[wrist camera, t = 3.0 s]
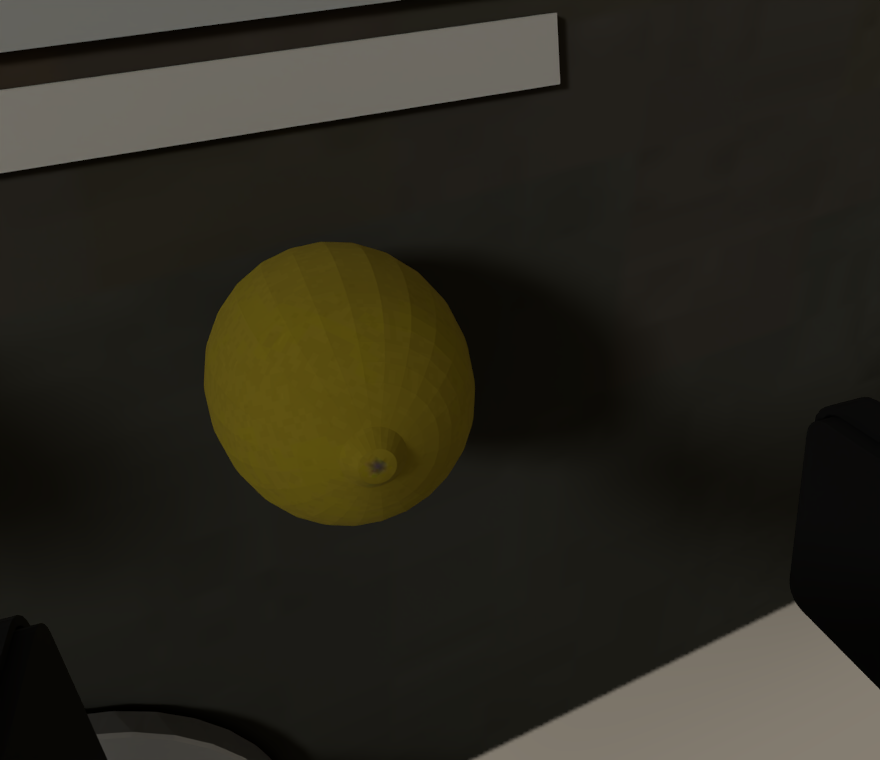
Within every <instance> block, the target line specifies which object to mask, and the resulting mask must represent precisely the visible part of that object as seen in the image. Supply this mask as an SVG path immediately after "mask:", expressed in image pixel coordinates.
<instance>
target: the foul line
mask: <svg viewBox="0 0 880 760" xmlns="http://www.w3.org/2000/svg"><path fill="white" fill-rule="evenodd" d="M558 84H560V68H559V46H558V25H557V13H548V14H541V15H534V16H527V17H520V18H512V19H505V20H498V21H491V22H484V23H477V24H469V25H462V26H455V27H448V28H441V29H434V30H426V31H419V32H412V33H405V34H398V35H391V36H383V37H376V38H369V39H362V40H355V41H348V42H340V43H333V44H326V45H319V46H312V47H305V48H297V49H290V50H283V51H276V52H269V53H262V54H254V55H247V56H240V57H233V58H226V59H219V60H211V61H204V62H197V63H190V64H183V65H176V66H168V67H161V68H154V69H147V70H140V71H133V72H125V73H118V74H111V75H104V76H97V77H90V78H82V79H75V80H68V81H61V82H54V83H47V84H39V85H32V86H25V87H18V88H11V89H4V90H0V173H5V172H11V171H18V170H24V169H30V168H37V167H43V166H49V165H55V164H62V163H68V162H74V161H81V160H87V159H93V158H99V157H106V156H112V155H118V154H124V153H131V152H137V151H143V150H150V149H156V148H162V147H168V146H175V145H181V144H187V143H193V142H200V141H206V140H212V139H219V138H225V137H231V136H237V135H244V134H250V133H256V132H263V131H269V130H275V129H281V128H288V127H294V126H300V125H306V124H313V123H319V122H325V121H332V120H338V119H344V118H350V117H357V116H363V115H369V114H375V113H382V112H388V111H394V110H401V109H407V108H413V107H419V106H426V105H432V104H438V103H445V102H451V101H457V100H463V99H470V98H476V97H482V96H488V95H495V94H501V93H507V92H514V91H520V90H526V89H532V88H539V87H545V86H551V85H558Z"/></svg>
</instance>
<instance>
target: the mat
mask: <svg viewBox="0 0 880 760" xmlns="http://www.w3.org/2000/svg"><path fill="white" fill-rule="evenodd" d="M392 1H399V0H0V53H1V52H9V51H17V50H24V49H32V48H39V47H47V46H55V45H62V44H70V43H78V42H85V41H93V40H101V39H108V38H116V37H124V36H131V35H139V34H147V33H154V32H162V31H170V30H177V29H185V28H193V27H200V26H208V25H215V24H223V23H231V22H238V21H246V20H254V19H261V18H269V17H277V16H284V15H292V14H300V13H307V12H315V11H323V10H330V9H338V8H346V7H353V6H361V5H369V4H376V3H384V2H392Z"/></svg>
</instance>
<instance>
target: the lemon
mask: <svg viewBox="0 0 880 760" xmlns="http://www.w3.org/2000/svg"><path fill="white" fill-rule="evenodd" d="M204 390H205V395H206V399H207V404H208V408H209V412H210V416H211V421H212V425H213V428H214V430H215V433H216V435H217V437H218V439H219V440H220V442H221V444H222V446H223V448H224V449H225V451H226V453H227V455H228V456H229V458H230V460H231V462H232V464H233V465H234V467H235V468H236V470H237V471H238V472H239V474H240V475H241V476H242V477H243V478H244V479H245V480H246V481H247V482H248V483H249V484H250V485H251V486H252V487H253V488H255V489H256V490H257V491H258V492H259V493H260V494H261V495H262V496H263V497H264V498H265V499H266V500H268V501H269V502H271V503H272V504H274V505H276V506H278V507H280V508H281V509H283V510H285V511H287V512H289V513H290V514H292V515H294V516H296V517H299V518H303V519H306V520H310V521H314V522H317V523H321V524H326V525H346V526H357V525H362V524H368V523H373V522H379V521H383V520H385V519H388V518H390V517H393V516H395V515H398V514H400V513H403V512H405V511H407V510H409V509H410V508H412V507H413V506H415V505H416V504H418V503H419V502H421V501H422V500H423V499H425V498H426V497H428V496H429V495H430V494H431V493H432V492H433V491H434V490H435V489H436V488H437V487H438V486H439V485H440V484H441V483H442V482H443V481H444V480H445V479H446V477H447V476H448V475H449V473H450V471H451V470H452V468H453V467H454V465H455V463H456V462H457V460H458V458H459V457H460V455H461V454H462V452H463V450H464V448H465V445H466V441H467V438H468V435H469V432H470V429H471V426H472V422H473V415H474V398H475V381H474V376H473V371H472V366H471V361H470V356H469V351H468V347H467V343H466V340H465V337H464V335H463V333H462V331H461V329H460V327H459V325H458V323H457V322H456V320H455V318H454V316H453V314H452V312H451V310H450V308H449V306H448V304H447V303H446V302H445V300H444V299H443V298H442V297H441V296H440V295H439V293H438V292H437V291H436V290H435V289H434V288H433V287H432V286H431V285H430V284H429V283H428V282H427V281H426V280H425V279H424V278H423V277H422V276H421V275H420V274H419V273H418V272H417V271H415V270H414V269H412V268H410V267H409V266H407V265H405V264H404V263H402V262H401V261H399V260H397V259H396V258H394V257H392V256H391V255H389V254H387V253H385V252H382V251H379V250H375V249H372V248H369V247H365V246H362V245H358V244H355V243H345V242H318V243H313V244H309V245H304V246H299V247H295V248H290V249H288V250H286V251H284V252H282V253H280V254H278V255H276V256H274V257H272V258H270V259H268V260H266V261H264V262H262V263H261V264H259V265H258V266H257V267H256V268H255V269H254V270H253V271H251V272H250V273H249V274H248V275H247V276H246V277H244V278H243V279H242V280H241V281H240V282H239V283H238V284H237V285H236V286H235V288H234V289H233V291H232V292H231V294H230V295H229V297H228V298H227V300H226V301H225V302H224V304H223V305H222V307H221V308H220V310H219V312H218V314H217V317H216V319H215V322H214V325H213V328H212V331H211V334H210V337H209V339H208V342H207V346H206V355H205V374H204Z"/></svg>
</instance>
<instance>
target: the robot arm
mask: <svg viewBox="0 0 880 760" xmlns="http://www.w3.org/2000/svg"><path fill="white" fill-rule="evenodd" d="M790 589H791V593H792V595H793V598H794V600H795V602H796V603H797V605H798V606H799V607H800V609H801V610H802V611H803V612H804V613H805V614H806V615H807V616H808V617H809V618H810V619H811V620H812V621H813V622H814V623H815V624H816V625H817V626H818V627H819V628H820V629H821V630H822V631H823V632H824V633H825V634H826V635H827V636H828V637H829V638H830V639H831V640H832V641H833V642H834V643H835V644H836V645H837V646H838V647H839V648H840V650H841V651H843V653H844V654H845V655H847V657H848V658H850V659H851V661H853V662H854V664H855V665H856V666H857V667H858V668H859V669H860V670H861V671H862V672H863V673H864V674H865V675H866V676H867V677H868V678H869V679H870V680H871V681H872V682H873V683H874V684H875V685H876V686H877V687H878V688H879V689H880V402H878V401H877V400H874V399H872V398H869V397H862V398H858V399H854V400H850V401H846V402H842V403H838V404H834V405H830V406H827V407H825V408H823V409H821V410H820V411H819V413H818V414H817V415H816V419H815V422H813V423H811V425H810V426H809V427H808V431H807V437H806V445H805V454H804V462H803V471H802V479H801V488H800V496H799V505H798V513H797V522H796V530H795V539H794V547H793V556H792V564H791V573H790ZM0 760H272V759H271V758H269V757H268V756H267V755H266V754H265V753H264V752H263V751H262V750H261V749H260V748H259V747H257V746H256V745H255V744H253V743H251V742H249V741H247V740H246V739H244V738H242V737H240V736H239V735H237V734H235V733H233V732H232V731H230V730H228V729H225V728H222V727H219V726H216V725H213V724H210V723H207V722H204V721H201V720H198V719H195V718H190V717H184V716H178V715H172V714H166V713H160V712H138V711H109V712H101V713H92V714H87V713H86V710H85V708H84V706H83V704H82V702H81V699H80V697H79V695H78V693H77V690H76V688H75V686H74V684H73V682H72V679H71V677H70V675H69V673H68V670H67V668H66V666H65V664H64V661H63V659H62V657H61V655H60V653H59V650H58V648H57V646H56V644H55V641H54V639H53V637H52V635H51V633H50V631H49V629H48V627H47V626H46V625H45V624H42V623H40V624H36V625H32V626H30V625H29V623H28V621H27V620H26V619H25V618H24V617H23V616H20V615H16V616H12V617H8V618H4V619H0Z"/></svg>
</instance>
